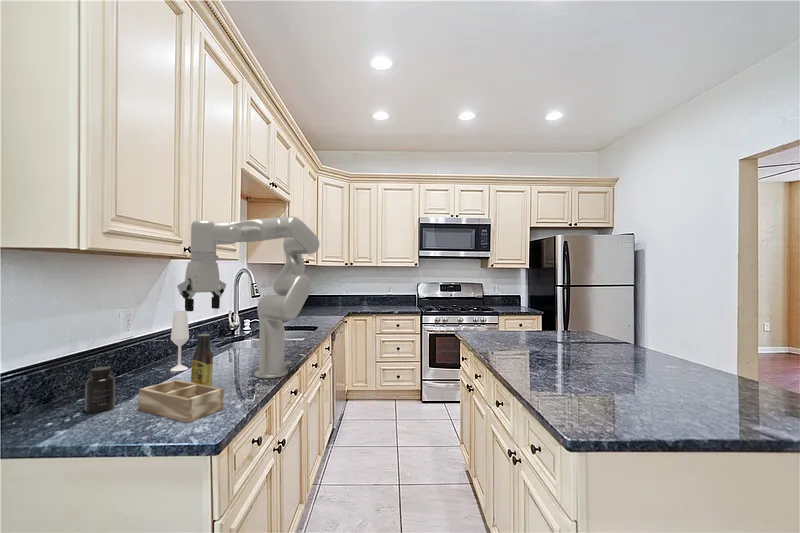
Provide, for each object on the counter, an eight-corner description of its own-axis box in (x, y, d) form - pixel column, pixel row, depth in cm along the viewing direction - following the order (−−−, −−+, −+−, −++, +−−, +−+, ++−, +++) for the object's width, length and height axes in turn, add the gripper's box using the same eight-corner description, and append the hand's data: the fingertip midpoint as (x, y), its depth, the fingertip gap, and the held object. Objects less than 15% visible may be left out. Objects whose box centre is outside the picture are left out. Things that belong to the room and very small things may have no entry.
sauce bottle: (186, 395, 125) (187, 334, 125) (203, 390, 130) (205, 332, 131) (199, 398, 122) (200, 336, 122) (216, 393, 127) (217, 333, 127)
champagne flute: (173, 367, 161) (174, 310, 162) (190, 366, 163) (192, 310, 163) (167, 371, 155) (168, 312, 155) (185, 370, 156) (186, 312, 157)
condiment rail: (175, 398, 122) (176, 379, 122) (223, 409, 113) (223, 388, 113) (138, 409, 111) (138, 389, 112) (187, 422, 102) (187, 400, 102)
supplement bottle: (83, 409, 112) (84, 368, 112) (112, 403, 116) (113, 364, 117) (86, 415, 107) (87, 372, 107) (116, 409, 111) (117, 368, 112)
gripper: (217, 259, 136) (217, 307, 136) (170, 257, 120) (170, 311, 120) (233, 259, 133) (232, 308, 132) (186, 257, 117) (186, 312, 117)
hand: (202, 309), depth 126 cm, fingers open, 9 cm apart
